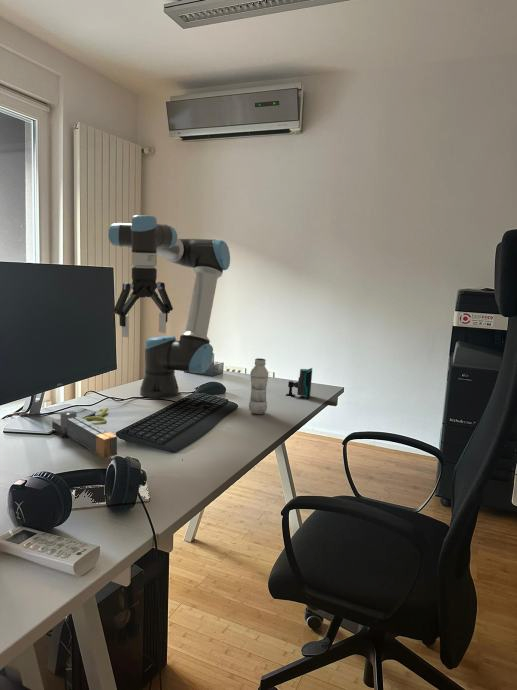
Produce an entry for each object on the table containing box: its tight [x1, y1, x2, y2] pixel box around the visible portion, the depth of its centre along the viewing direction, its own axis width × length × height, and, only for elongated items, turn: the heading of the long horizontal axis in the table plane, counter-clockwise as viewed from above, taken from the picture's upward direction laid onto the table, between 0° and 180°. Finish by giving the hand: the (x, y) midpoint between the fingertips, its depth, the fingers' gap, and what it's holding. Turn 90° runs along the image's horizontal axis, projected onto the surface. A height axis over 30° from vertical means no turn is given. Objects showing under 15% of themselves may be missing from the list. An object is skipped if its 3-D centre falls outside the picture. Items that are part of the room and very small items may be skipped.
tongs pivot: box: [51, 410, 78, 439], centre depth 143 cm, size 10×4×7 cm, turn 47°
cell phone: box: [72, 482, 151, 504], centre depth 107 cm, size 9×18×1 cm, turn 108°
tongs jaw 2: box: [74, 416, 118, 457], centre depth 132 cm, size 21×2×5 cm, turn 47°
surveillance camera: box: [285, 367, 313, 399], centre depth 196 cm, size 6×12×10 cm
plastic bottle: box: [248, 357, 270, 415], centre depth 171 cm, size 6×7×20 cm
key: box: [83, 407, 109, 425], centre depth 158 cm, size 7×12×2 cm, turn 14°
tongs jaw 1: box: [67, 418, 111, 459], centre depth 131 cm, size 21×2×5 cm, turn 47°
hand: (144, 334), depth 151 cm, fingers open, 13 cm apart
